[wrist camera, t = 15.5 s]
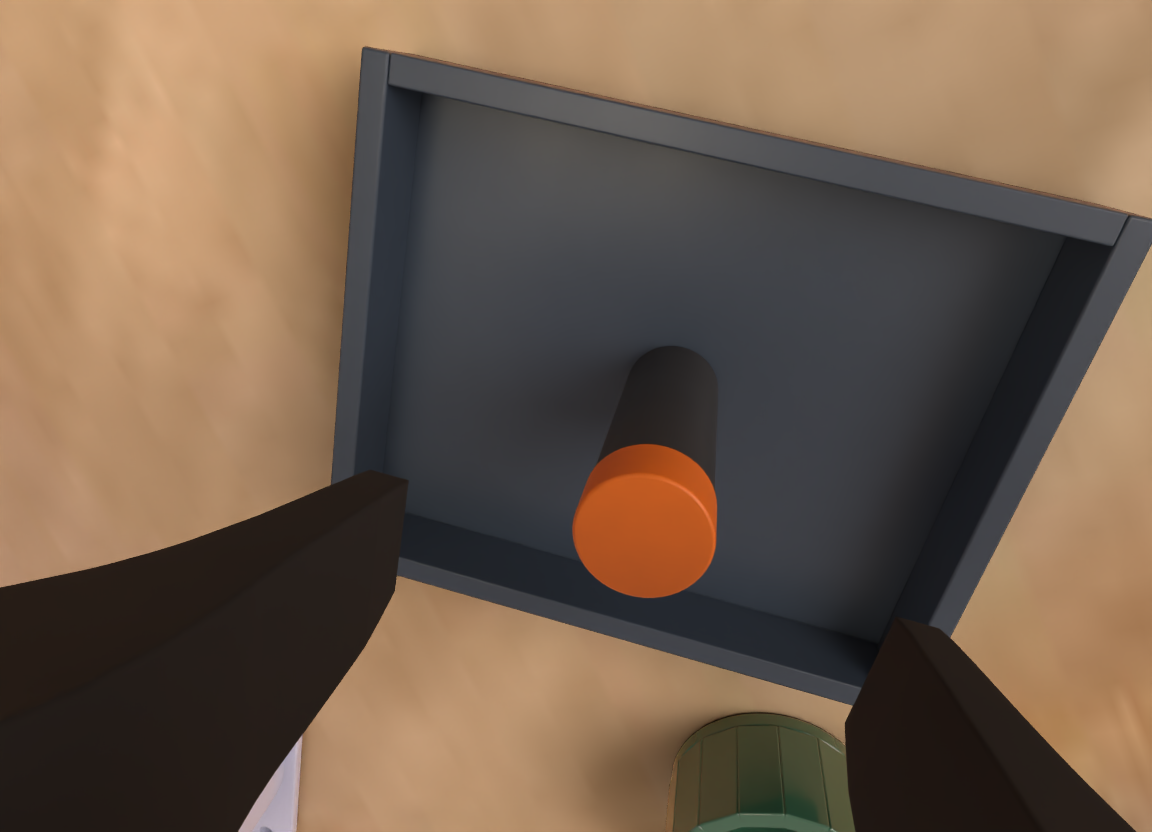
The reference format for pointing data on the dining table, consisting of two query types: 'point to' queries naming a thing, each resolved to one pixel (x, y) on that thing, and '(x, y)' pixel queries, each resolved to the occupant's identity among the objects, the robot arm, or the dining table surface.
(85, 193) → the dining table surface
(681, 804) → the pen pot
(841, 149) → the tray
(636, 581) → the marker
